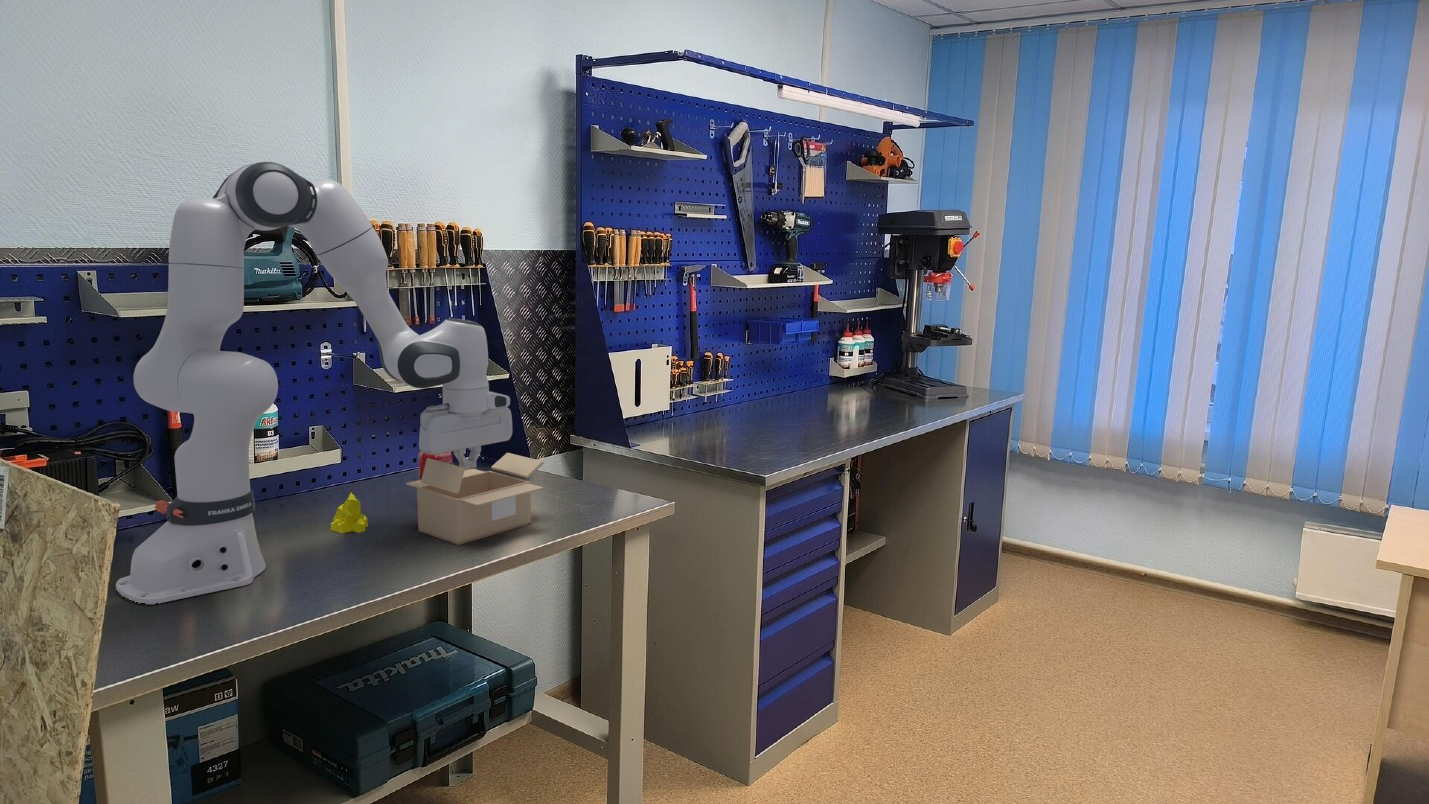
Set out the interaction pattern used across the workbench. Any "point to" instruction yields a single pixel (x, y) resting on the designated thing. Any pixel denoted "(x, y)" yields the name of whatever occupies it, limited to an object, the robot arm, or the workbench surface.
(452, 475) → the near flap
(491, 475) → the carton
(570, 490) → the workbench surface
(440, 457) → the soda can
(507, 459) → the far flap
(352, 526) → the yellow jagged lump
